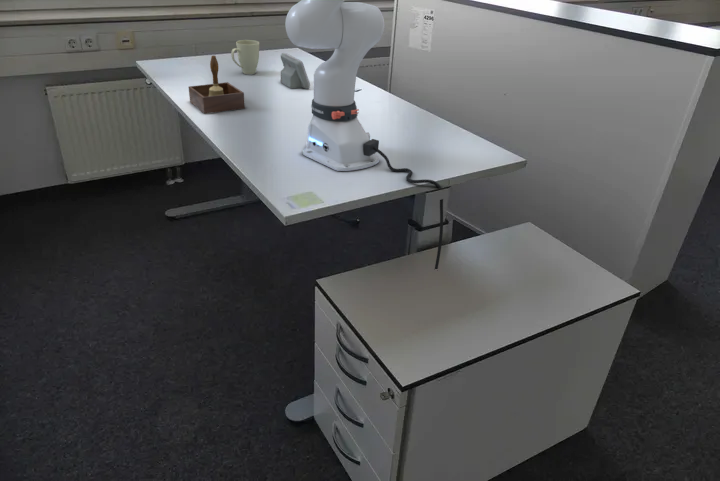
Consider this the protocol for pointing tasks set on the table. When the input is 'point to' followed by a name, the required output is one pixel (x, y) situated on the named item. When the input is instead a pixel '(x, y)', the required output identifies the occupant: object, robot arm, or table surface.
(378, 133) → the table surface
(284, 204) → the table surface
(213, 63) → the hand bell
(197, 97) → the crate
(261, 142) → the table surface
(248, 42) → the mug
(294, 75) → the digital clock
